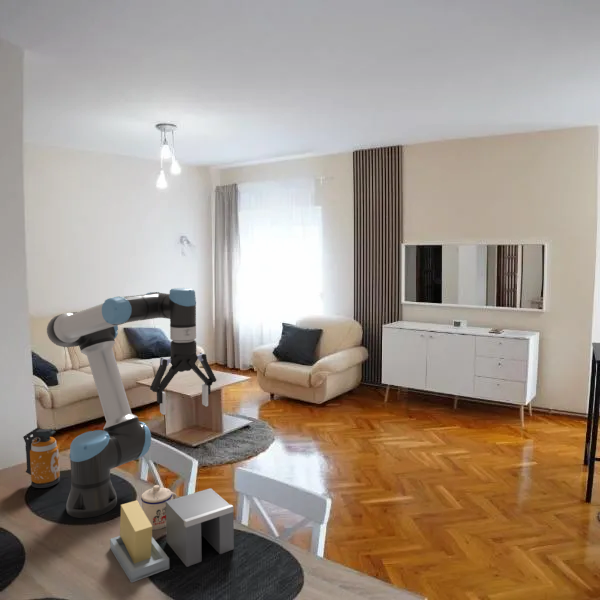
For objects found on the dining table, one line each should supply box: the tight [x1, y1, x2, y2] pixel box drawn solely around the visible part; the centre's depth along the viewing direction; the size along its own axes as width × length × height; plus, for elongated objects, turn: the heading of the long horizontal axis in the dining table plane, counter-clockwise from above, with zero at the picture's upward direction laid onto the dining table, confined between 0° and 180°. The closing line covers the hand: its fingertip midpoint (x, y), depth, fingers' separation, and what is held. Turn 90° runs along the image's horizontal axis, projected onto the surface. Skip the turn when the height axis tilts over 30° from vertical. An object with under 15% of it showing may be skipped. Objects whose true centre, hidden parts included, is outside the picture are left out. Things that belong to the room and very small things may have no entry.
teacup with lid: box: [140, 484, 178, 531], centre depth 160 cm, size 12×9×12 cm
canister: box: [22, 427, 61, 489], centre depth 183 cm, size 9×11×20 cm
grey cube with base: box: [165, 487, 235, 567], centre depth 147 cm, size 14×14×13 cm
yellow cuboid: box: [119, 499, 153, 564], centre depth 143 cm, size 12×4×10 cm, turn 36°
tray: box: [109, 535, 170, 583], centre depth 142 cm, size 18×10×3 cm, turn 36°
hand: (184, 409), depth 159 cm, fingers open, 13 cm apart
